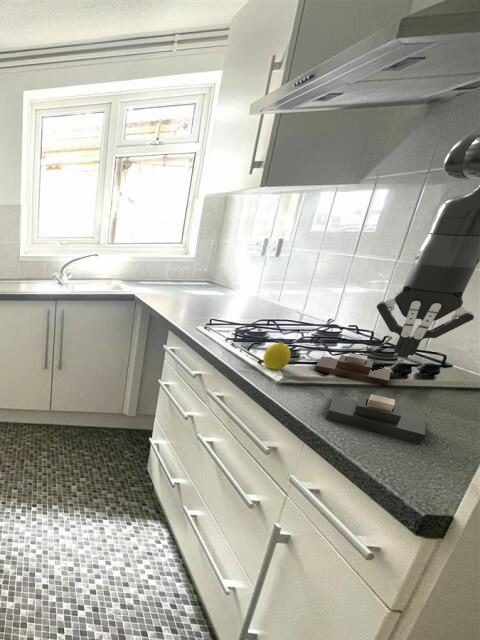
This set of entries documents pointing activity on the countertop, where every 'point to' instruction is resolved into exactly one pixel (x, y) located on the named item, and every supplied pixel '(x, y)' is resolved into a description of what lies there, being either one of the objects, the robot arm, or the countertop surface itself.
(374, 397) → the ivory key
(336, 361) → the brown stepped block
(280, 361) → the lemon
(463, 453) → the countertop surface
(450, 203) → the robot arm
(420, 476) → the countertop surface
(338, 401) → the dark grey stepped block
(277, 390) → the countertop surface
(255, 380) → the countertop surface
